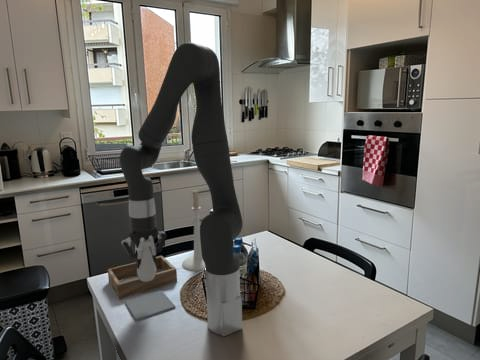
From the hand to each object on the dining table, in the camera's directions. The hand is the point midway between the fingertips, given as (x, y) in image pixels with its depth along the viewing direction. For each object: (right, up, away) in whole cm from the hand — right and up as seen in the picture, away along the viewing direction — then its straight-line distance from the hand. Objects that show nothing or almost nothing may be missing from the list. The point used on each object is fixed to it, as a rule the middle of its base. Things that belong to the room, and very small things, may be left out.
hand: (146, 267), depth 105 cm
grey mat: (0, -12, +3) cm, 13 cm away
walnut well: (-6, -10, +17) cm, 21 cm away
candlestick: (+12, -7, +31) cm, 34 cm away
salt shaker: (0, -4, +1) cm, 4 cm away
